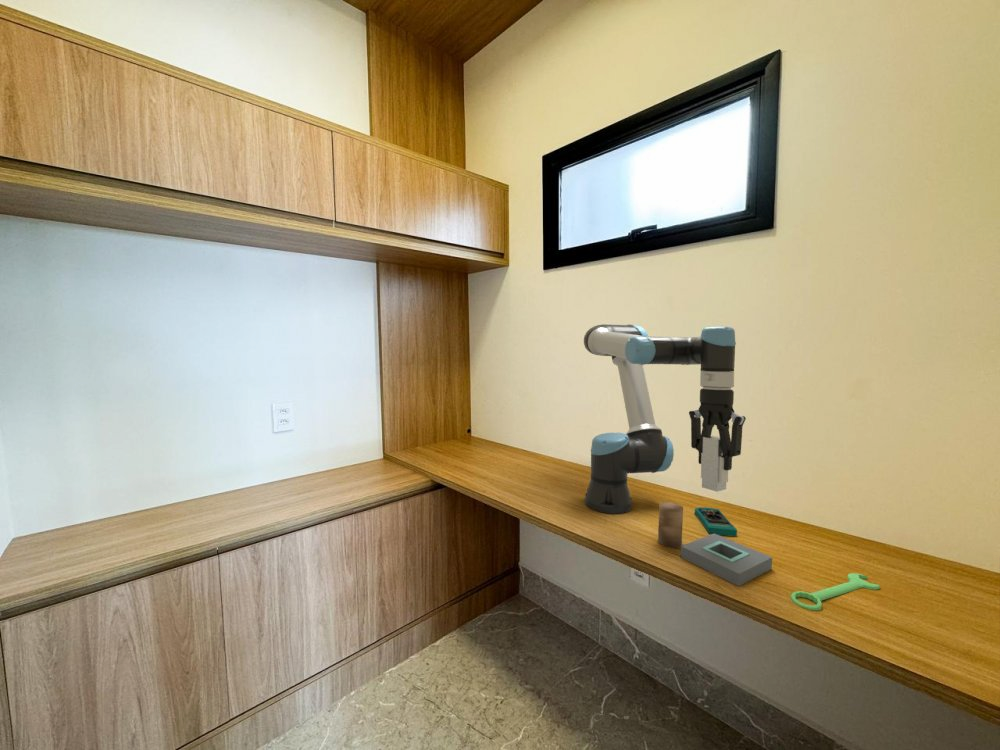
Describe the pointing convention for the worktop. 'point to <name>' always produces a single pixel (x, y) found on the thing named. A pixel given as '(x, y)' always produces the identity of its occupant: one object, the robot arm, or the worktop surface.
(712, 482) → the square bit
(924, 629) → the worktop surface
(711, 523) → the digital multimeter
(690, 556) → the socket plate
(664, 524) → the round dowel
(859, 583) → the wrench
